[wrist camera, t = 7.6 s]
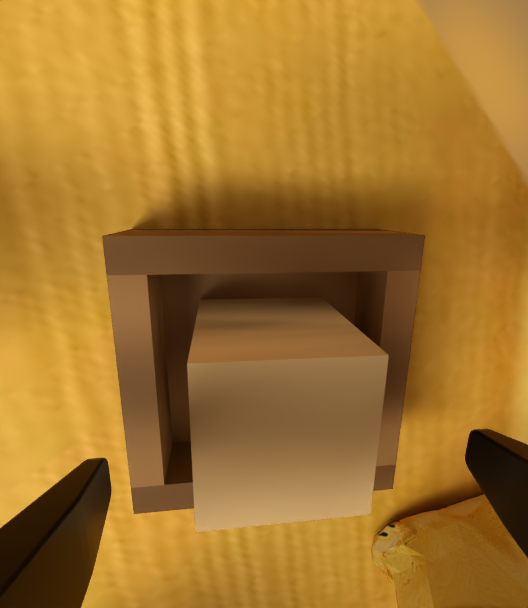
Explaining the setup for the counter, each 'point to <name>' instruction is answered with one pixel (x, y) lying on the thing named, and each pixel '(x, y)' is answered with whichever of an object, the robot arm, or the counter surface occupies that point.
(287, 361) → the cream cube
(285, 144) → the counter surface
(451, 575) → the chocolate bunny
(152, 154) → the counter surface
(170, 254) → the bin
